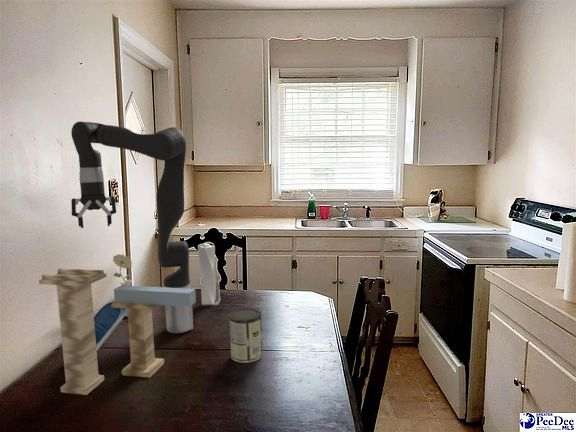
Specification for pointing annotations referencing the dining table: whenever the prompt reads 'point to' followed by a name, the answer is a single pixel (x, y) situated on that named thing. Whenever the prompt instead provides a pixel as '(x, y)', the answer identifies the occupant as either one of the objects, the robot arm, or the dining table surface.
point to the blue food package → (107, 322)
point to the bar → (155, 295)
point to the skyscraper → (208, 275)
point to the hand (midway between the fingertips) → (95, 226)
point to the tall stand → (77, 327)
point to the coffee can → (245, 335)
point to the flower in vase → (124, 263)
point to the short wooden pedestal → (140, 340)
